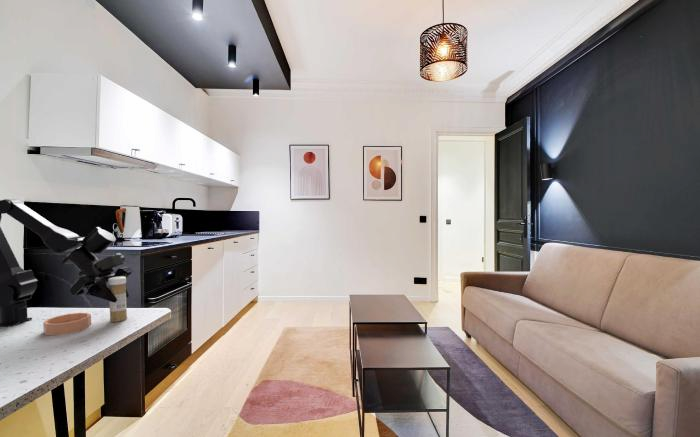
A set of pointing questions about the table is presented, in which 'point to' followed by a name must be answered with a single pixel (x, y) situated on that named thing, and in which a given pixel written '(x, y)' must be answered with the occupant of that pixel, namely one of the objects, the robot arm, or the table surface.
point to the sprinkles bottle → (118, 299)
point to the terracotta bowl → (67, 323)
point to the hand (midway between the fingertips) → (121, 299)
